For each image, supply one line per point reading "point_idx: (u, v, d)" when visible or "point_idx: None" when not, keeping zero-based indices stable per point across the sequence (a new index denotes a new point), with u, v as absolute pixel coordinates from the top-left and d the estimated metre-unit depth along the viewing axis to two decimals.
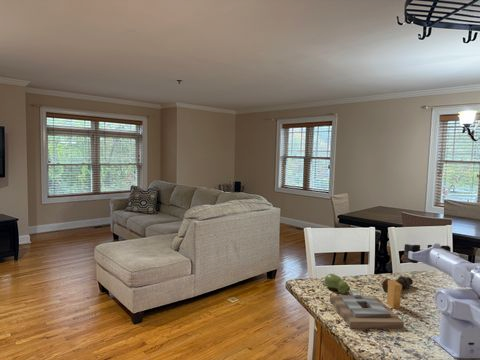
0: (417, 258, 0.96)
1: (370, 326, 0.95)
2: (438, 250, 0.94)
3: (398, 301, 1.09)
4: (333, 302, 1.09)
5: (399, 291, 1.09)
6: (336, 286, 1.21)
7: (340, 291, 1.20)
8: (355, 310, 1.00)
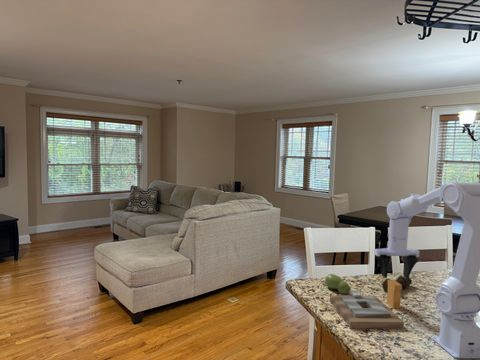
0: None
1: (370, 326, 0.95)
2: None
3: (398, 301, 1.09)
4: (333, 302, 1.09)
5: (399, 291, 1.09)
6: (337, 286, 1.20)
7: (341, 291, 1.19)
8: (355, 310, 1.00)
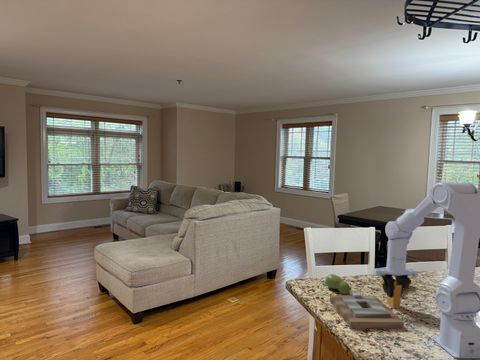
0: None
1: (370, 326, 0.95)
2: None
3: (398, 301, 1.09)
4: (333, 302, 1.09)
5: (399, 291, 1.09)
6: (337, 287, 1.20)
7: (341, 292, 1.19)
8: (355, 310, 1.00)
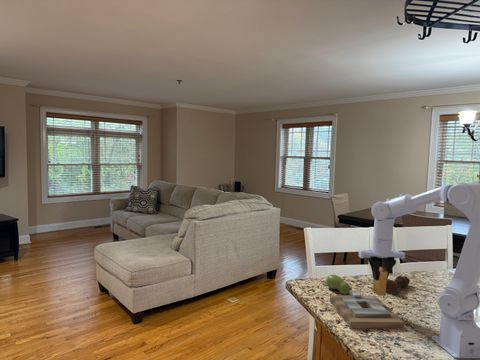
0: (366, 253, 1.05)
1: (370, 326, 0.95)
2: None
3: (384, 288, 1.05)
4: (333, 302, 1.09)
5: (385, 278, 1.05)
6: (338, 287, 1.20)
7: (342, 292, 1.19)
8: (355, 310, 1.00)
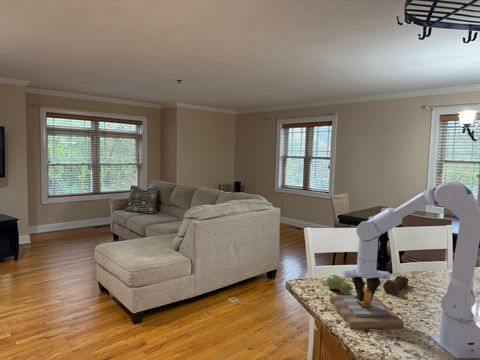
0: None
1: (370, 326, 0.95)
2: None
3: None
4: (333, 302, 1.09)
5: (369, 298, 1.02)
6: (339, 287, 1.20)
7: (343, 292, 1.18)
8: (355, 310, 1.00)
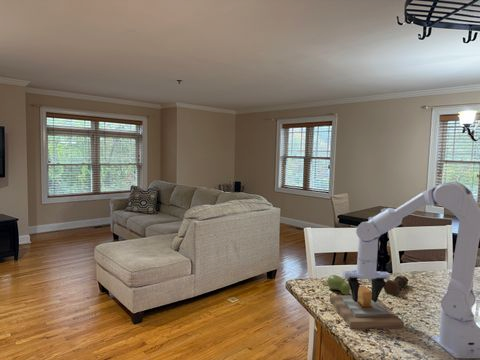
0: None
1: (370, 326, 0.95)
2: None
3: None
4: (333, 302, 1.09)
5: (369, 298, 1.02)
6: (339, 287, 1.19)
7: (344, 292, 1.18)
8: (355, 310, 1.00)
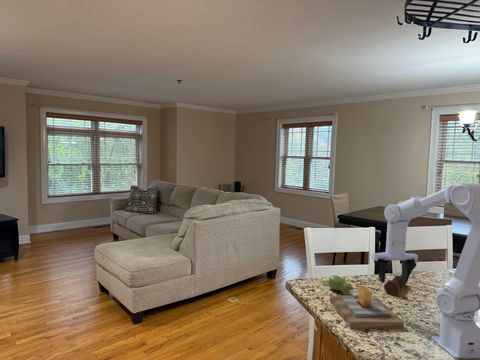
0: None
1: (370, 326, 0.95)
2: None
3: None
4: (333, 302, 1.09)
5: (369, 298, 1.02)
6: (340, 288, 1.19)
7: (344, 293, 1.18)
8: (355, 310, 1.00)
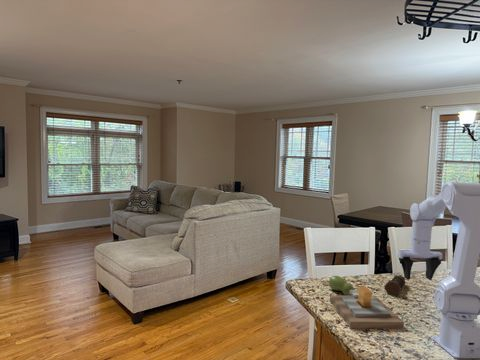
0: None
1: (370, 326, 0.95)
2: None
3: None
4: (333, 302, 1.09)
5: (369, 298, 1.02)
6: (341, 288, 1.19)
7: (345, 293, 1.18)
8: (355, 310, 1.00)
